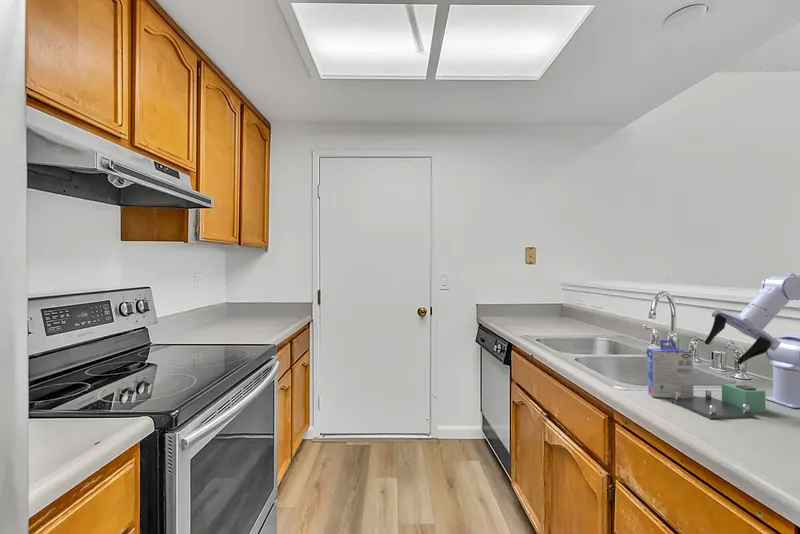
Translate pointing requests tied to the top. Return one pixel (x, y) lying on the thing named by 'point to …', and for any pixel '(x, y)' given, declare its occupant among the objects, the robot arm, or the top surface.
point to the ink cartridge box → (670, 371)
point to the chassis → (712, 407)
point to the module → (744, 396)
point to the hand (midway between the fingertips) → (722, 352)
